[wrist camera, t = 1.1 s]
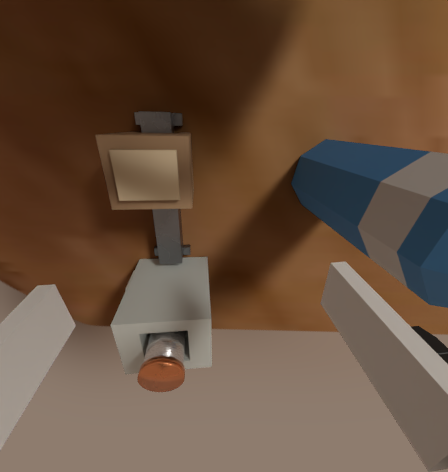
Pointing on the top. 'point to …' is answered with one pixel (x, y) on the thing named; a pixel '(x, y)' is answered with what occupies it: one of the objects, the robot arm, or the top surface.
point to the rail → (165, 219)
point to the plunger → (163, 362)
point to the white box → (165, 311)
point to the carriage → (147, 169)
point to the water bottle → (384, 207)
